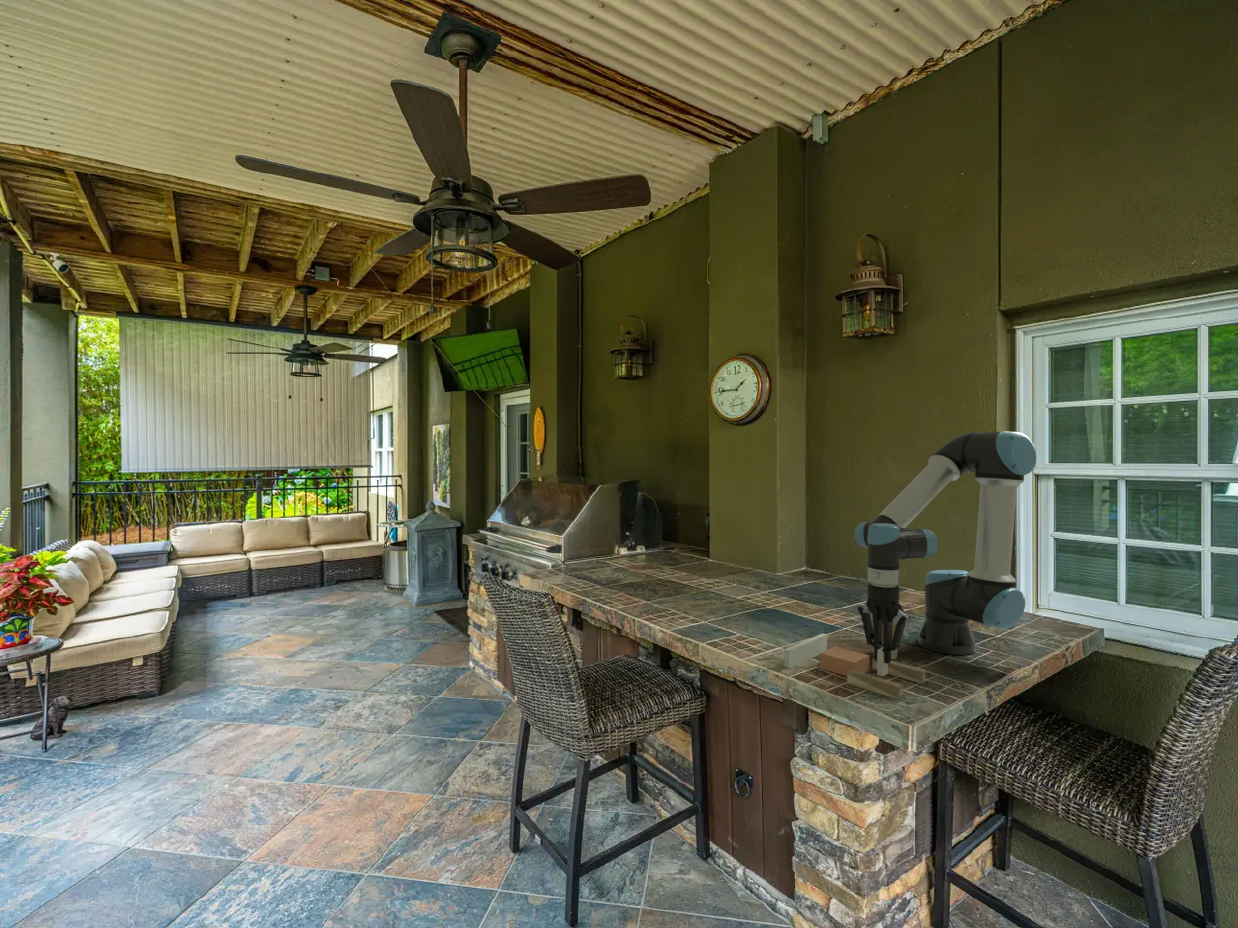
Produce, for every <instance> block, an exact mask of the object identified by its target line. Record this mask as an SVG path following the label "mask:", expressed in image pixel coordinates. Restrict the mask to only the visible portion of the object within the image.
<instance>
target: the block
mask: <svg viewBox="0 0 1238 928" xmlns="http://www.w3.org/2000/svg"><path fill="white" fill-rule="evenodd" d="M819 668H820V669H822V670H825V671H829V672H831V673H834V674H835V673H836V674H838V675H842V676H845V677H847V672H848V671H850V670H853V671H856V672H860V673H863V674H866V673H868V672H869V671H870V655H869V654H865V653H861V652H858V651H854V650H852V649H851V650H850V649H847V648H843V647H839V646H837V645H835V646H832V647H830V648H827V650H825V651H823V652H821V653H820V654H819Z"/></svg>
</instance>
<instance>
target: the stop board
mask: <svg viewBox="0 0 1238 928" xmlns="http://www.w3.org/2000/svg"><path fill="white" fill-rule="evenodd" d="M827 644H828V634H826V633H823V632H822V633H820V634H818V635H815V636H813V637H810V638H808V639H805V640H804V641H801V642H799V643H795V644H793V645H791V646H788V647H787V648H784V667H785V668H786V667H787V669H790V668H793V667H795V666H797V664H798V665H799V664H803V663H804V662H806V661H808V660H810V659H812V658H816V657H817V656H820V653H821V652H823V651H825V650H828V648H827V647H828V645H827Z"/></svg>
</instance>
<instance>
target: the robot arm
mask: <svg viewBox="0 0 1238 928" xmlns="http://www.w3.org/2000/svg"><path fill="white" fill-rule="evenodd" d="M928 458H929V459H928V461H927V462H928V464H927V465H926V466H925V467H924V468H923V469H922V470H921V471H920V472H919V473H918V475H916V476H915V477H914V478H913V479H912V480H911V481H910V483H908V485H906V487H904V489H902V491H900V493H899V494H897V496H896V497H895V498H894V499H893V500H891V502H890V503H889V504H888V505H887V506H886V507H885V508H884V509H883V510H882V511H881V512H880V513H879V514H878V515H877V516H876V517H875V518H874V519H873V520H872V521H862V522H860V523H859V524H857V526H856V528H855V531H854V539H855V540H854V541H856V544H858V545H859V546H860V547H862V548H865V549H867V582H868V584H867V591H866V592H867V600H866V602H865V604H863V605H860V606H858V607H857V611H858V613H859V615H860V617H861V618H860V619H861V622H862V626H863V630H864V636H865V640H866V643H867V645H869V646H871V647H872V648H873V647H874V654H873V658H874V659H875V660H876V661H877V671H876V676H880V677H884V676H886V675H889V674H888V663H890V662H891V661H892V659H891V651H894V650H896V649H898V650H899V648H900V645H901V642H902V639H903V635H904V630H905V627H906V625H907V622H908V621H909V620H910V618H911V616H910V614H908V613H907V614H905V612H904V613H903V612H902V611H901V608H900V606H899V604H900V586H899V584H900V568H901V567H900V562H901V560H914V559H925V558H928V557H932V556H934V555H935V554H936V553H937V551H938V548H939V541H938V537H937V536H936V534H935V533H934V532H933V531H932V530H930V529H927V528H916V529H915V528H907V527H908V526H909V525H910V524H911V522H912V521H914V520H915V518H916V517H918V516H919V514H920V513H921V512H923V510H924V509H925V508H926V507H927V506H928V505H929V504H930V503H931V502H932V501H933V500H934V499H935V498H936V497H937V496H938V494H940V492H941V491H943V489H944V488H945V487H947V486H948V484H949V483H950V482H955V481H957V480H958V479H960V477H961V476H963V475H964V474H968V473H974V479H975V480H976V481H977V482H978V483H979V485H980V489H979V502H978V503H979V504H978V514H977V515H978V517H977V528H976V542H975V554H974V568H973V569H972V570H971V571H967V570H962V569H937V570H931V571H928V572H927V573H926V574H925V583H924V621H923V622H922V625H921V628H920V631H919V633H918V639H917V641H918V645H919V646H920V647H922V648H924V649H926V650H929V651H932V652H935V653H939V654H947V655H956V656H957V655H958V656H959V655H960V656H963V655H970V654H973V653H975V652H976V641H975V638H974V635H973V632H972V629H971V625H970V621H973V622H975V623H978V624H982V625H985V626H987V627H989V628H995V629H1000V630H1005V629H1006V630H1007V629H1010V628H1012V627H1014V626H1015V625H1016V624H1017V623H1018V622H1019V621H1020V620H1021V618H1022V617H1023V615H1024V612H1025V609H1026V597H1025V596H1024V594H1023V592H1022V591H1021V590H1019V589H1018V588H1017V580H1016V579H1015V577H1014V576H1013V575H1012V574H1011V570H1012V567H1011V565H1012V554H1013V542H1014V528H1015V516H1016V515H1015V513H1016V503H1017V502H1016V501H1017V490H1018V489H1017V488H1018V487H1019V486H1020V485H1022V484H1023V483H1024V482H1025V476H1026V475H1028V474H1030V473H1032V472H1033V470H1034V468H1035V467H1036V464H1037V450H1036V448H1035V444H1034V443H1033V442H1032V441H1031V439H1030V438H1029V437H1028V436H1027V435H1026V434H1024V433H1022V432H1019V431H1006V430H1005V431H984V432H983V431H982V432H980V431H979V432H978V431H973V432H972V431H971V432H966V433H963V434H961V435H958V436H956V437H955V438H952V439H951V440H949V441H948V442H946V443H945V444H944V445H942V446H940V448H938V449H937V450H935V452H934V453H933V454H932V455H931V456H930V457H928ZM869 611H870V612H871V614H872V615H873V623H874V631H873V627H872V622H871V617H870V614H869ZM896 615H898V617H897V620H898V622H897V624H896V628H895V631H894V635H893V639H892V624H893V619H894V618H895V616H896ZM882 624H883V644H882ZM882 646H883V648H881V647H882Z"/></svg>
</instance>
